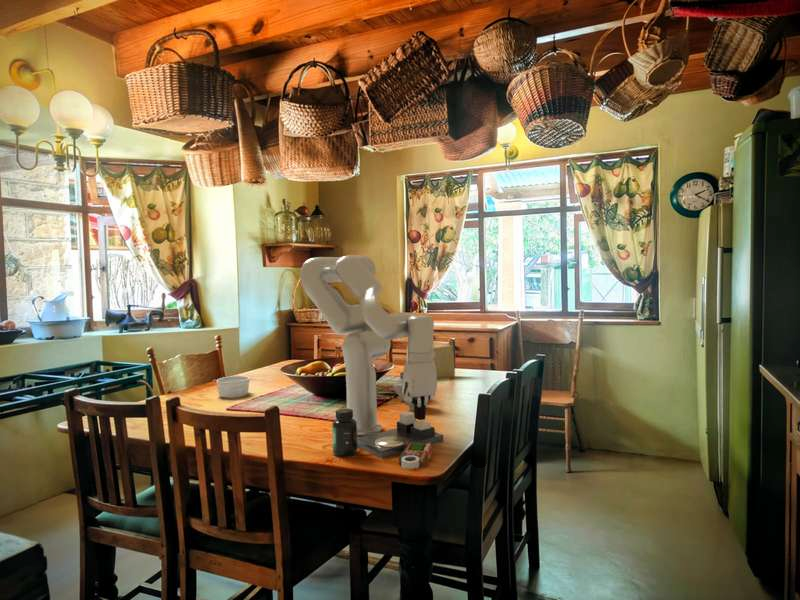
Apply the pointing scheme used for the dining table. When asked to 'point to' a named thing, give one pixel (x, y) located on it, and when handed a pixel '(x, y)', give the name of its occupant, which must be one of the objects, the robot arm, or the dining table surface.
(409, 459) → the electronic device
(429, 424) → the white cube
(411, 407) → the pottery
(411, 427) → the breaker board
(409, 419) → the block
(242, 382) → the ramekin
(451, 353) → the cheese
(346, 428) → the supplement bottle
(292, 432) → the dining table surface
